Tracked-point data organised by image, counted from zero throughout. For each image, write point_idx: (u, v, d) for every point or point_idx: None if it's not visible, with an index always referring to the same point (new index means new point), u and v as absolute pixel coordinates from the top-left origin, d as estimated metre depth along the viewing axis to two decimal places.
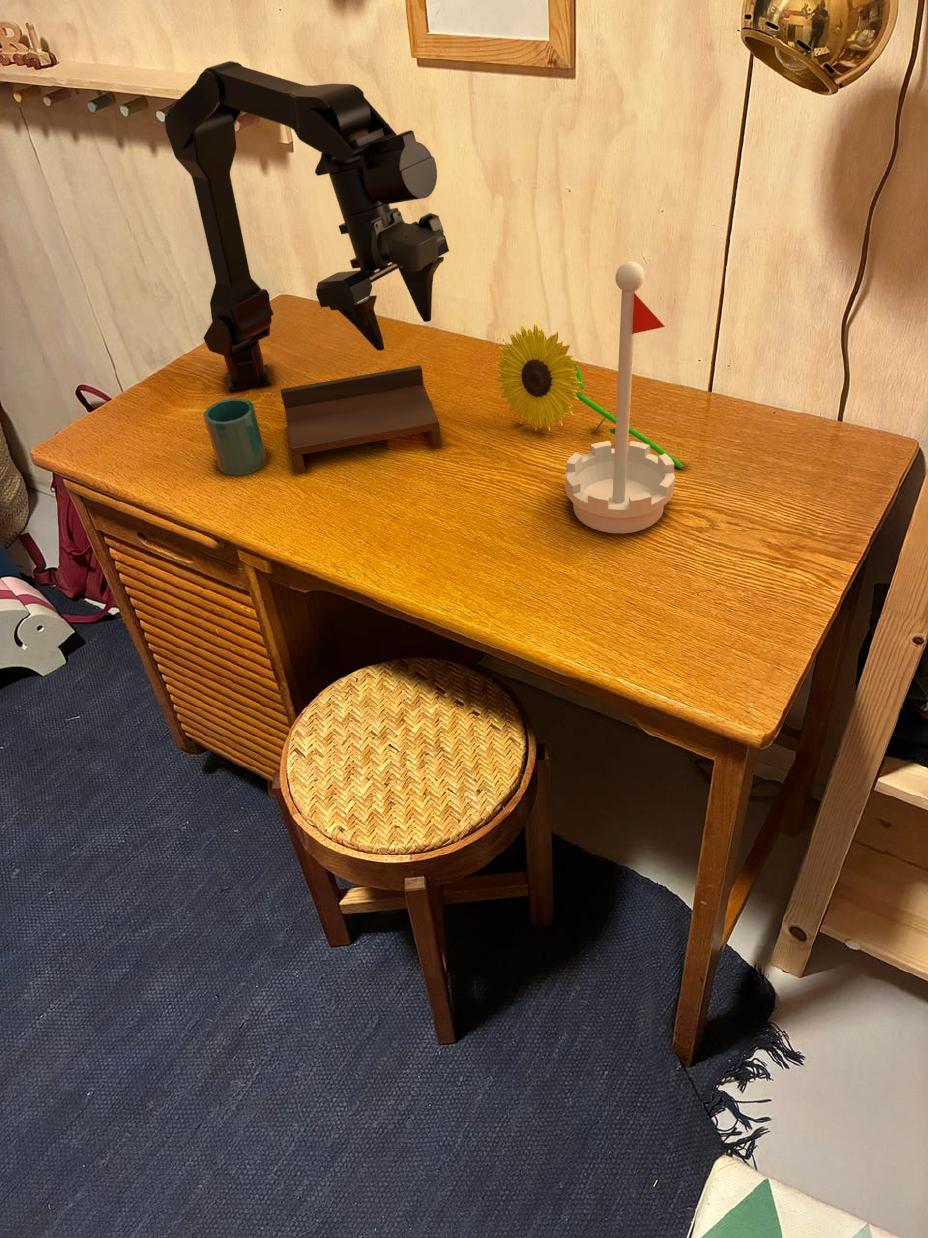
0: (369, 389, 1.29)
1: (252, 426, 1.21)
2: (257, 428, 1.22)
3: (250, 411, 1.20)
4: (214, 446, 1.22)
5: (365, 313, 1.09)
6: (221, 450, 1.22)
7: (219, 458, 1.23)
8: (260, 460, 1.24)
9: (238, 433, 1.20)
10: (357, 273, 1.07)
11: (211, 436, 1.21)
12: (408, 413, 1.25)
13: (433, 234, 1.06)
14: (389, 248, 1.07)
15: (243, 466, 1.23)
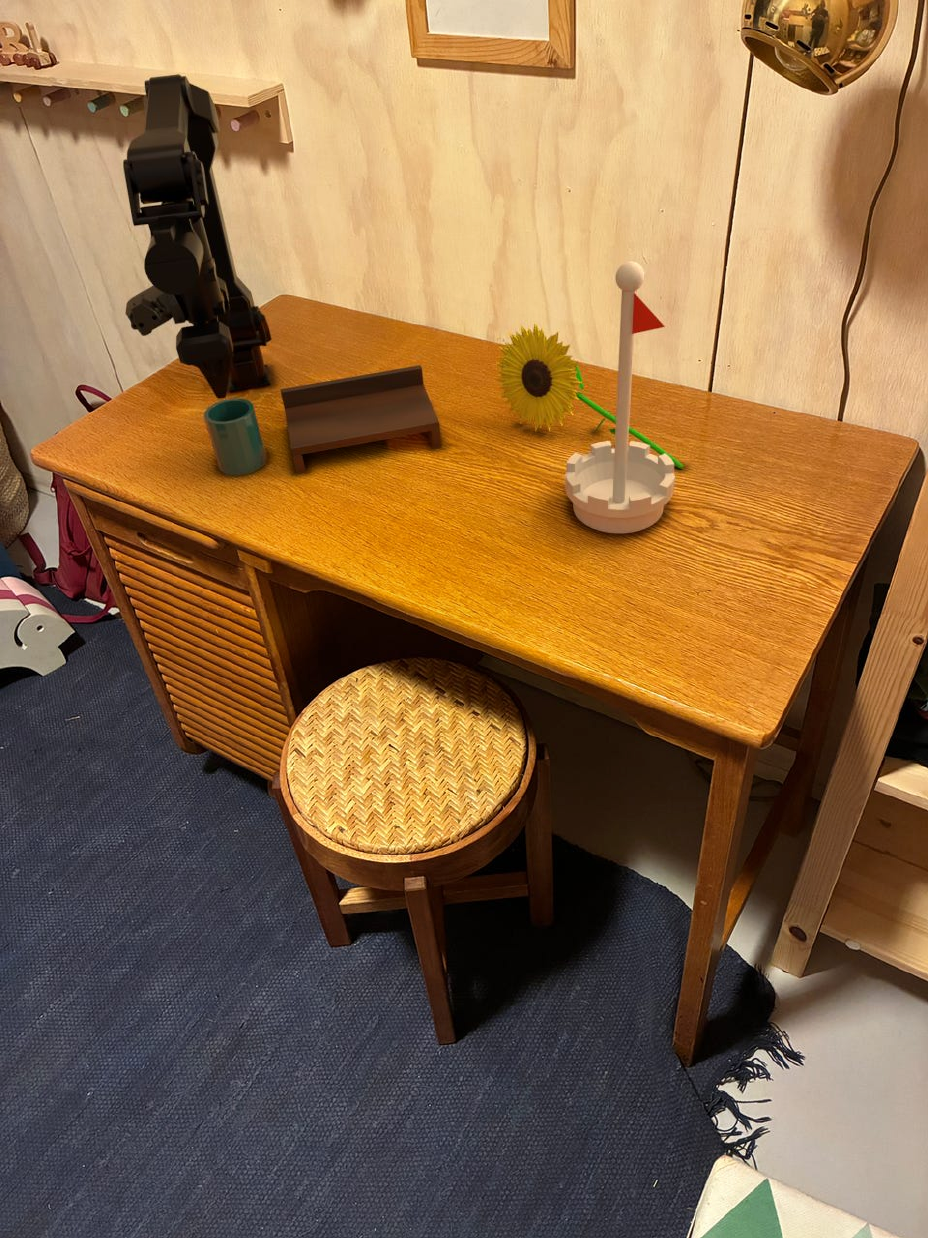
0: (369, 389, 1.29)
1: (252, 426, 1.21)
2: (257, 428, 1.22)
3: (250, 411, 1.20)
4: (214, 446, 1.22)
5: None
6: (221, 450, 1.22)
7: (219, 458, 1.23)
8: (260, 460, 1.24)
9: (238, 433, 1.20)
10: None
11: (211, 436, 1.21)
12: (408, 413, 1.25)
13: (127, 311, 1.09)
14: None
15: (243, 466, 1.23)
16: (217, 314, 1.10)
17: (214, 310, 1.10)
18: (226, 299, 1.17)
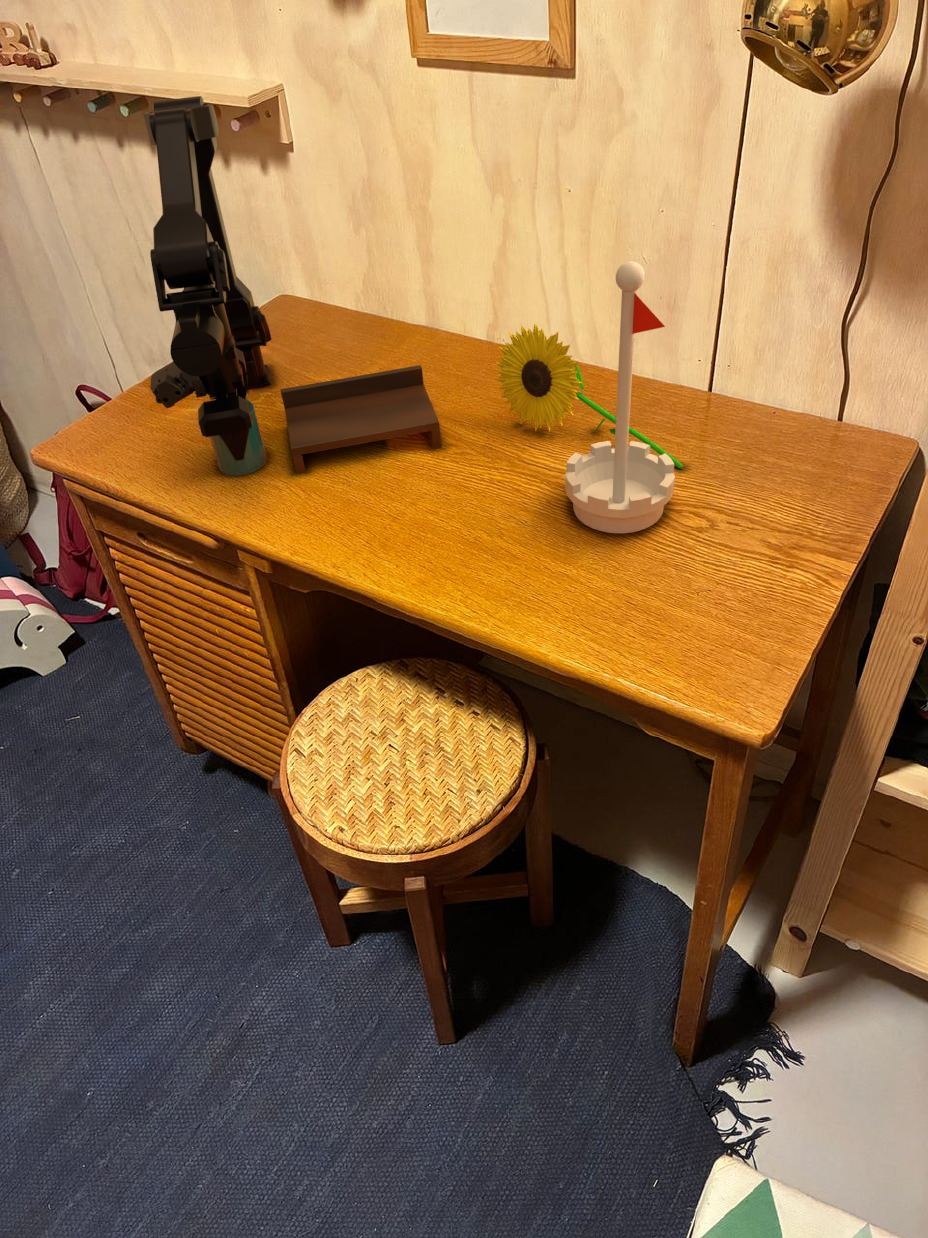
0: (369, 389, 1.29)
1: (252, 426, 1.21)
2: (257, 428, 1.22)
3: (250, 411, 1.20)
4: (214, 446, 1.22)
5: None
6: (221, 450, 1.22)
7: (219, 458, 1.23)
8: (260, 460, 1.24)
9: None
10: None
11: (211, 436, 1.21)
12: (408, 413, 1.25)
13: (152, 386, 1.15)
14: None
15: (243, 466, 1.23)
16: (236, 388, 1.17)
17: (233, 384, 1.16)
18: (244, 369, 1.24)
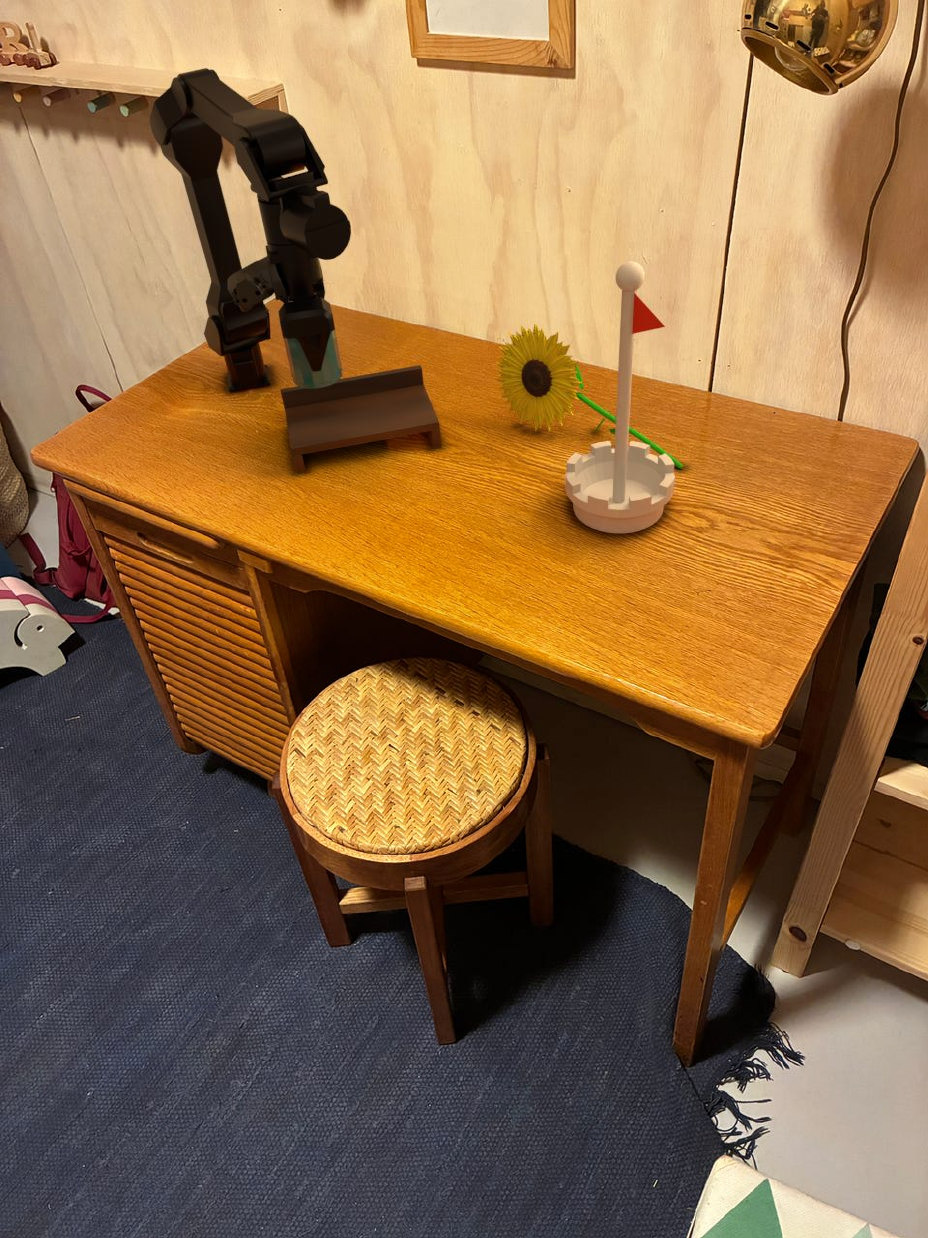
0: (369, 389, 1.29)
1: (330, 335, 1.15)
2: (335, 338, 1.17)
3: None
4: (290, 356, 1.17)
5: None
6: (297, 360, 1.16)
7: (294, 370, 1.17)
8: (337, 373, 1.19)
9: None
10: None
11: (287, 345, 1.16)
12: (408, 413, 1.25)
13: (229, 287, 1.10)
14: None
15: (320, 378, 1.17)
16: (317, 291, 1.11)
17: (314, 286, 1.11)
18: (321, 277, 1.18)
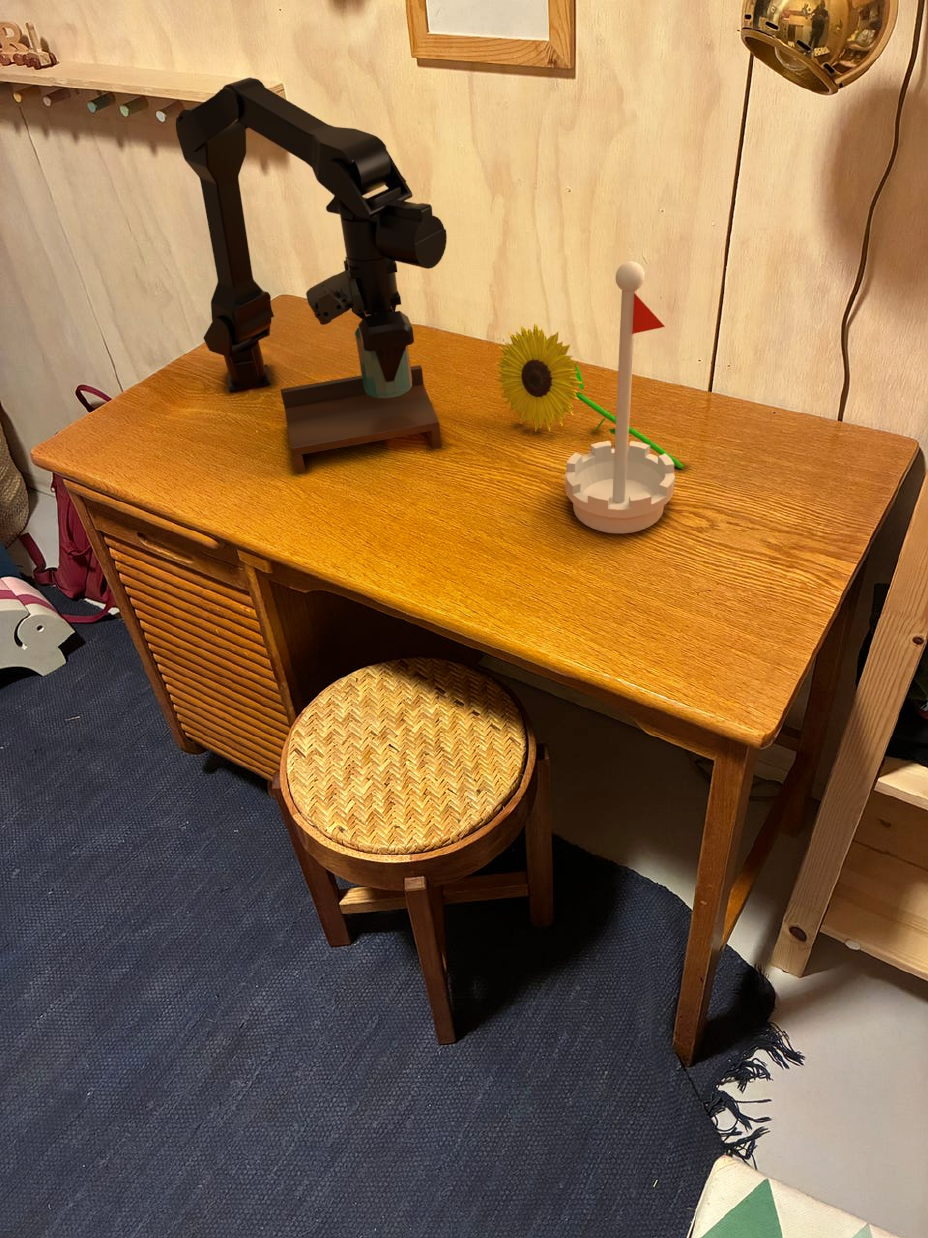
0: None
1: None
2: (407, 349, 1.20)
3: None
4: (364, 367, 1.20)
5: None
6: (371, 371, 1.20)
7: (368, 380, 1.21)
8: (408, 383, 1.22)
9: None
10: None
11: (362, 356, 1.19)
12: (408, 413, 1.25)
13: (310, 301, 1.13)
14: None
15: (392, 388, 1.21)
16: (394, 304, 1.15)
17: (391, 300, 1.14)
18: None
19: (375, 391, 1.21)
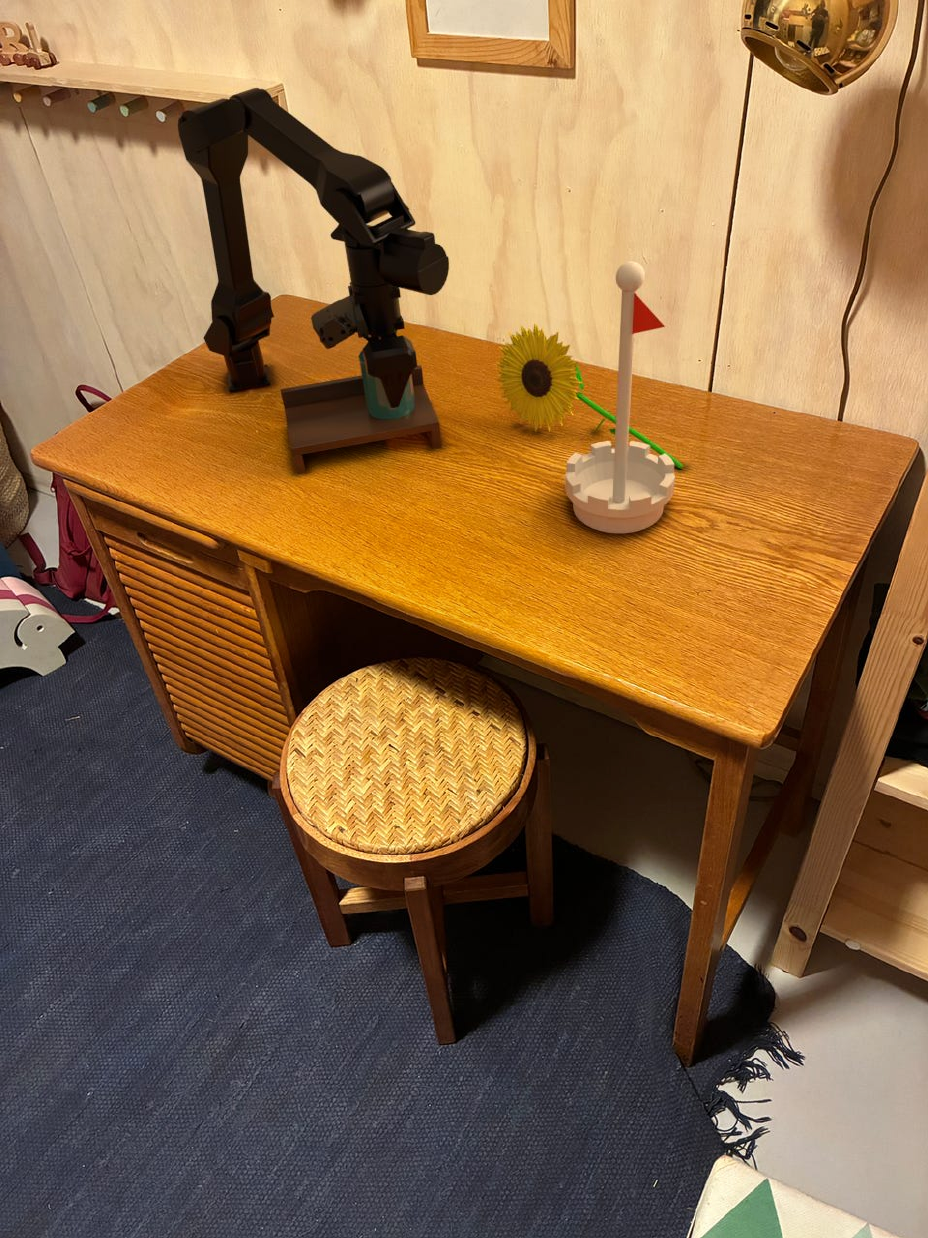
0: None
1: None
2: None
3: None
4: (367, 389, 1.22)
5: None
6: (375, 393, 1.22)
7: (371, 402, 1.23)
8: (410, 404, 1.24)
9: None
10: None
11: (365, 379, 1.21)
12: None
13: (315, 326, 1.15)
14: None
15: (395, 410, 1.23)
16: (397, 329, 1.17)
17: (395, 324, 1.16)
18: None
19: (378, 413, 1.24)
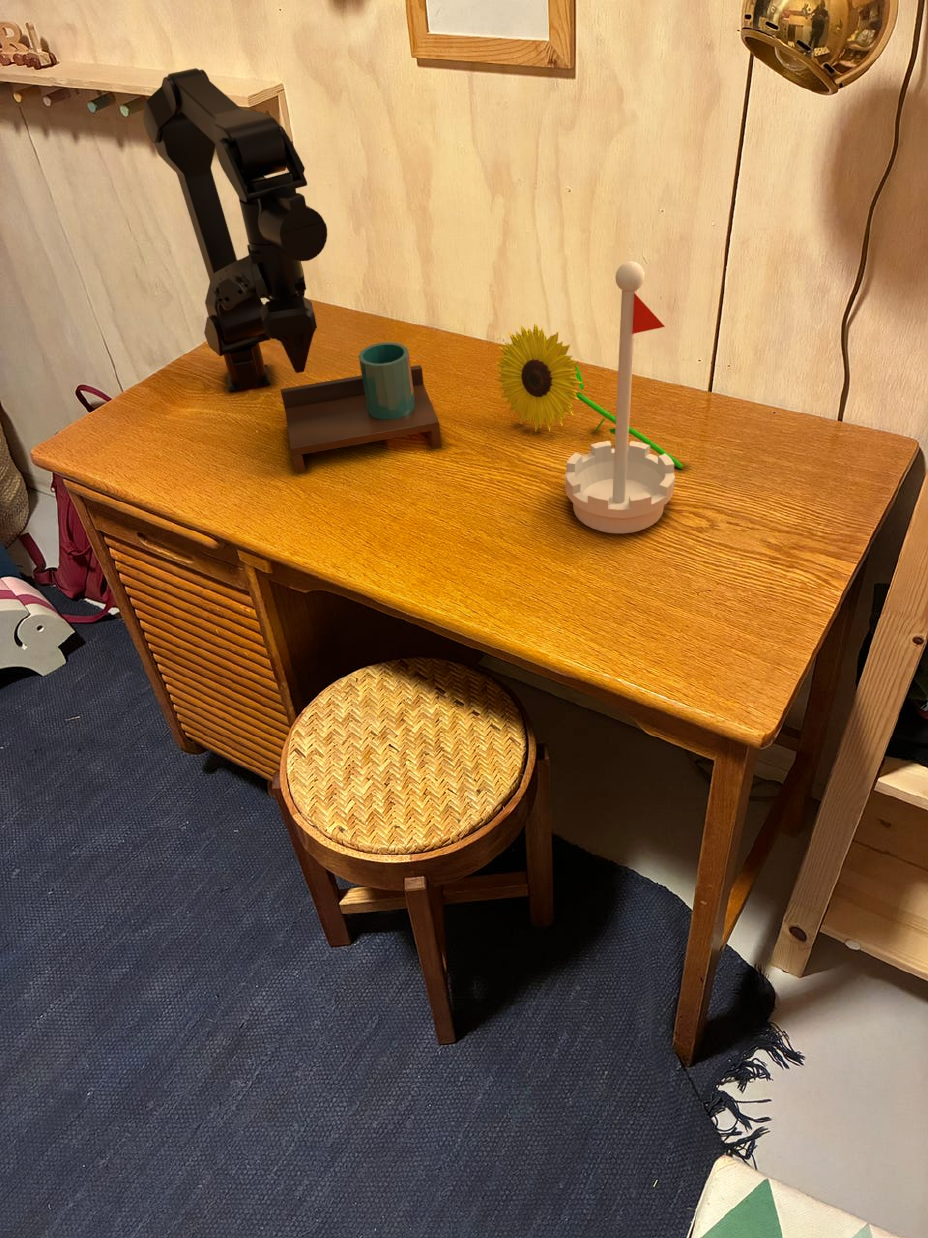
0: None
1: (407, 369, 1.21)
2: (410, 372, 1.23)
3: (405, 354, 1.21)
4: (367, 389, 1.22)
5: None
6: (375, 393, 1.22)
7: (371, 402, 1.23)
8: (410, 404, 1.24)
9: (394, 375, 1.20)
10: None
11: (365, 379, 1.21)
12: None
13: (212, 286, 1.11)
14: None
15: (395, 410, 1.23)
16: (299, 290, 1.13)
17: (296, 285, 1.12)
18: (302, 276, 1.20)
19: (378, 413, 1.24)
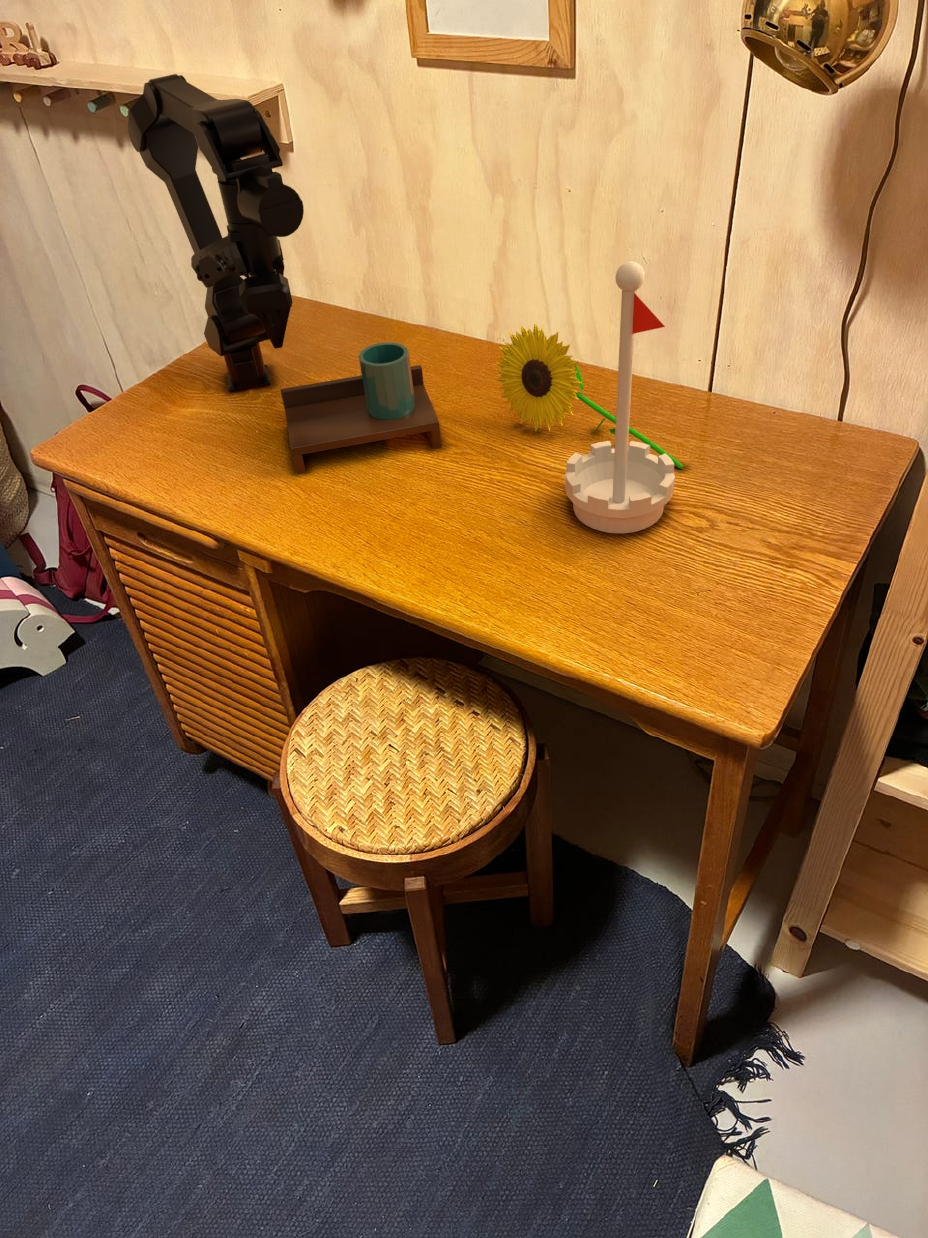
0: None
1: (407, 369, 1.21)
2: (410, 372, 1.23)
3: (405, 354, 1.21)
4: (367, 389, 1.22)
5: None
6: (375, 393, 1.22)
7: (371, 402, 1.23)
8: (410, 404, 1.24)
9: (394, 375, 1.20)
10: None
11: (365, 379, 1.21)
12: None
13: (193, 264, 1.16)
14: None
15: (395, 410, 1.23)
16: (276, 268, 1.18)
17: (273, 263, 1.17)
18: (281, 256, 1.25)
19: (378, 413, 1.24)
